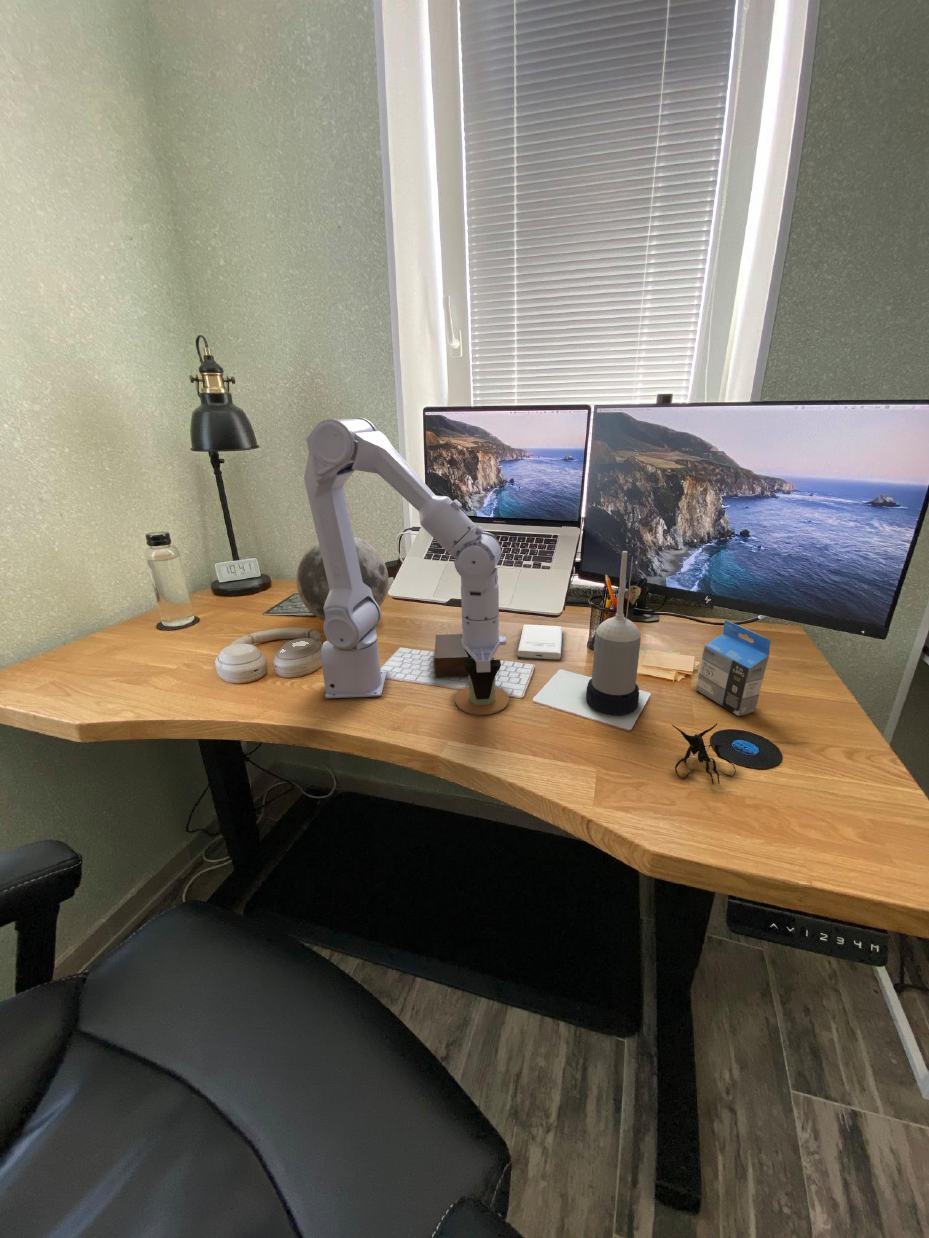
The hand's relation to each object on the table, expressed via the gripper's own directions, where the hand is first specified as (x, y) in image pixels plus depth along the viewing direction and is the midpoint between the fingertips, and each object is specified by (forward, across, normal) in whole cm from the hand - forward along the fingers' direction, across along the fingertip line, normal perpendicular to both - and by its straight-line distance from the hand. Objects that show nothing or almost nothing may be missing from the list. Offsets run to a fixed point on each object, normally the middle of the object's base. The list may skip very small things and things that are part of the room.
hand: (482, 690), depth 83 cm
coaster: (+2, 0, 0) cm, 2 cm away
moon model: (+2, +36, +29) cm, 46 cm away
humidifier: (+2, -2, -21) cm, 21 cm away
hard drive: (+2, +20, -13) cm, 24 cm away
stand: (+2, +13, +3) cm, 13 cm away
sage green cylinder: (+2, 0, 0) cm, 2 cm away
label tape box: (+2, -3, -39) cm, 39 cm away
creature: (+2, -19, -28) cm, 34 cm away
